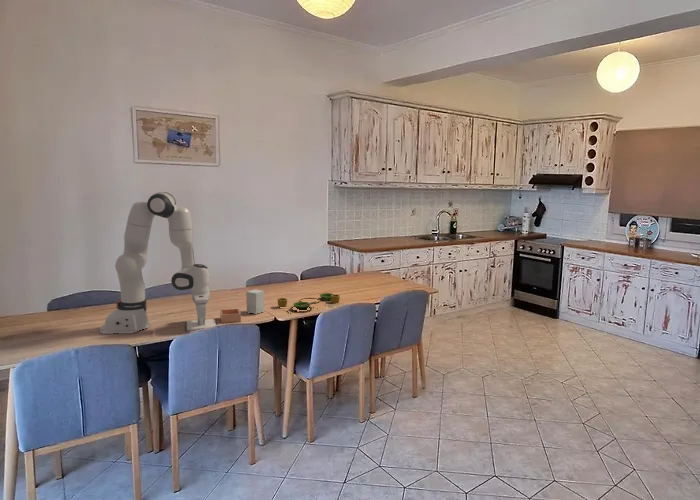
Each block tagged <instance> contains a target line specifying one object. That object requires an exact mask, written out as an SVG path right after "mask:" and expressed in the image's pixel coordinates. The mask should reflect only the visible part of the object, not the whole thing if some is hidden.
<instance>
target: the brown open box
mask: <svg viewBox="0 0 700 500" xmlns="http://www.w3.org/2000/svg"><path fill="white" fill-rule="evenodd" d="M219 314H220V315H219V319H220V323H221V324H228V323H229V324H234V323H242V312H241V310H240V309H239V308H230V309H225V308H224V309H219Z"/></svg>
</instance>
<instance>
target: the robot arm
mask: <svg viewBox="0 0 700 500" xmlns="http://www.w3.org/2000/svg"><path fill="white" fill-rule="evenodd" d="M176 202H177V201H176V198H175V197H174V196H173V194H171V193H169V192H165V191H164V192H163V191H160V192H155V193H154V194H152V195H151V196H149V198H148V200H147V201H136V202H134V203H133V204H132V205H131V209H130V210H129V213H128V217H127V220H126V226H125V230H124V235H123V243H124V244H123V245H124V246H123V247H124V248H123V249H124V250H123V253H122V254H121V255H120V256H118V258H117V259H116V261H115V264H114V265H115V266H114V268H115V270H116V273H117V277H118V281H119V286H120V287H119V288H120V299H118V300H117V301H116V309H115V310H112V312H110V313H109V314H108V315H107V317H106V318H105V320H104V321H105V322H104V324H103V325H102V326H101V327H100V328H99V333H100V334H103V335H106V334H110V335H111V334H112V335H113V333H119V334H135V333H137V331H138V332H139V330H141V331H143V330H142V329H144V330H146V329H145V328H147V329H148V327H149V326H151V325H150V324H151V323H150V322H149V318H148V315H147V311H148V310H147V309H148V303H147V299H146V284H145V281H144V278H143V272H142V270H143V268H144V267H146V264H147V258H148V250H149V249H148V248H149V240H150V236H151V230H152V224H153V220H154V218H155V217H156V216H157V217H161V218H163V219H164V218H165V219H167V221H168V234H169V235H168V237H169V240H170V243H172V245H173V246H175V247H177V248H178V250H179V251H180V259H181V260H180V261H181V268H180V270H179V271H177V272H176V273H174V274H173V275H172V276H171V280H170V281H171V285H172V287H173V288H174V289H175V290H178V291H185V290H186V291H187V290H191V300H192V302H193V303H194V304H195V308H196V316H197V320H198V319H199V320H200V324H203V318H205V319H206V316H207V307H208V306H207V305H208V303H209V300H210V298H211V294H210V293H211V291H210V286H209V285H210V281H211V280H210V271H209V268H208V266H207V265H205V264H202V263H196V262H195V253H194V245H193V237H194V235H193V221H192V216H191V211H190V210H189V209H188V208H187V207H185V206H178V205H177V203H176ZM149 328H150V327H149ZM134 332H135V333H134Z"/></svg>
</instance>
